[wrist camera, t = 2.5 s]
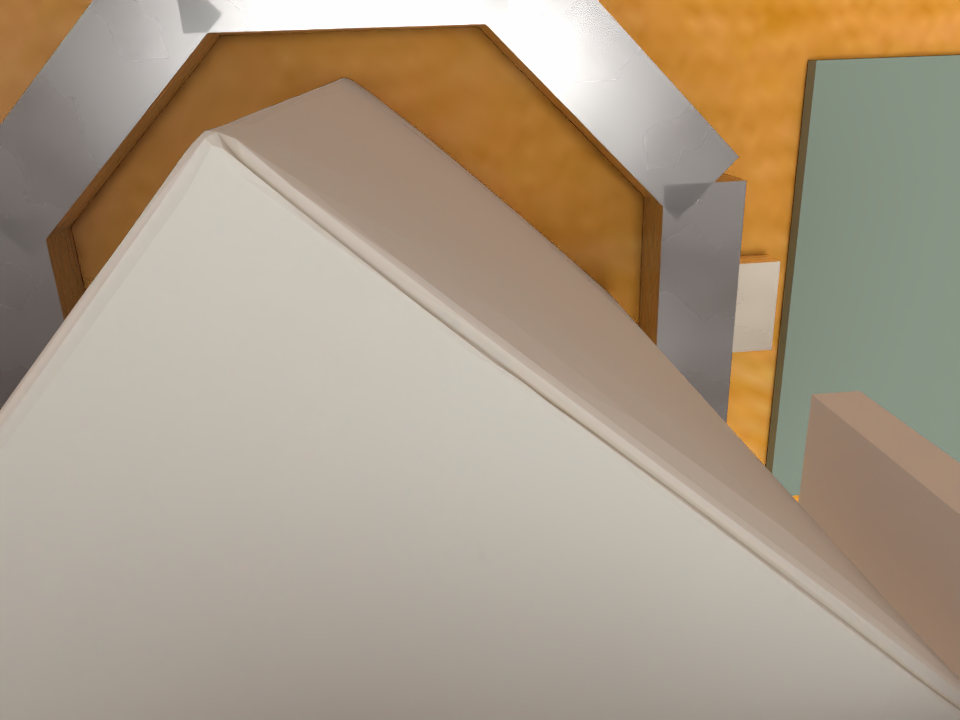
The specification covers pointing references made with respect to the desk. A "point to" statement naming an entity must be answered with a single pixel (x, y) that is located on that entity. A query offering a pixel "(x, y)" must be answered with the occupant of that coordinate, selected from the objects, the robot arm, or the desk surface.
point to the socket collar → (385, 6)
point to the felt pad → (873, 252)
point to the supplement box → (399, 474)
